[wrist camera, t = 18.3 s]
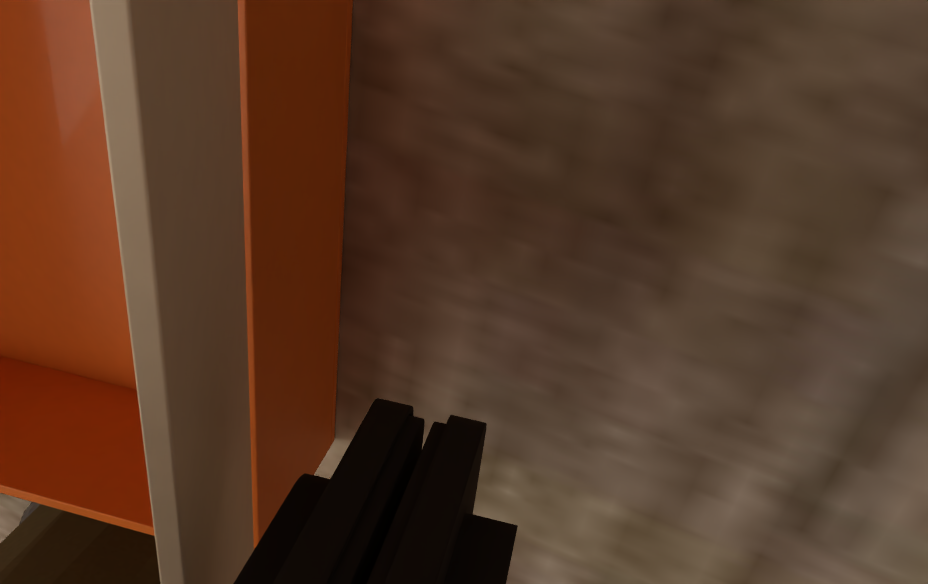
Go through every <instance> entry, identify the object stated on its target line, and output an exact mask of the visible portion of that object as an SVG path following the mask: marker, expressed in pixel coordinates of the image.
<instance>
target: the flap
mask: <svg viewBox="0 0 928 584" xmlns="http://www.w3.org/2000/svg"><path fill="white" fill-rule="evenodd" d="M89 2H90V10H91V18H92V26H93V34H94V43H95V51H96V59H97V67H98V75H99V84H100V92H101V100H102V108H103V116H104V125H105V133H106V141H107V149H108V157H109V166H110V174H111V182H112V190H113V198H114V207H115V215H116V223H117V231H118V239H119V248H120V256H121V264H122V272H123V280H124V289H125V297H126V305H127V313H128V321H129V330H130V338H131V346H132V354H133V362H134V371H135V379H136V387H137V395H138V403H139V412H140V420H141V428H142V436H143V444H144V453H145V461H146V469H147V477H148V485H149V494H150V502H151V510H152V518H153V526H154V535H155V543H156V551H157V559H158V567H159V576H160V584H233V583H234V582H235V580H236V579H237V577H238V575H239V574H240V572H241V570H242V569H243V567H244V565H245V564H246V562H247V561H248V559H249V557H250V556H251V554H252V552H253V551H254V539H253V505H252V471H251V437H250V404H249V370H248V336H247V302H246V269H245V235H244V201H243V167H242V134H241V100H240V66H239V32H238V0H89Z"/></svg>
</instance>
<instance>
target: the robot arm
mask: <svg viewBox="0 0 928 584" xmlns="http://www.w3.org/2000/svg"><path fill="white" fill-rule="evenodd" d="M486 426H487V424H486V423H484V422H480V421H476V420H471V419H467V418H462V417H458V416H454V415H450V417H449V419H448V421H447V424H444V423H440V422H436V421H435V422H434V423H433V425H432V427H431V429H430V432H429V434H428V437H427V439H426V441H425V444H424V446H423V449H422V443H423V433H424V419H423V418H418V417H414V416H413V407H412V406H410V405H406V404H401V403H397V402H393V401H388V400H384V399H379V398H377V399H375V400H374V402H373V403H372V405H371V407H370V409H369V411H368V412H367V414H366V416H365V418H364V420H363V421H362V423H361V425H360V427H359V429H358V430H357V432H356V434H355V436H354V438H353V439H352V441H351V443H350V445H349V447H348V448H347V450H346V452H345V454H344V456H343V458H342V459H341V461H340V463H339V465H338V467H337V468H336V470H335V472H334V474H333V476H332V477H331V479H327V478H323V477H318V476H314V475H310V474H306V473H304V474H303V475H302V476H300V477H299V479H298V480H297V481H296V483H295V484H294V485H293V487H292V489H291V490H290V492H289V494H288V495H287V497H286V499H285V500H284V502H283V503H282V505H281V507H280V508H279V510H278V512H277V513H276V515H275V516H274V518H273V520H272V521H271V523H270V525H269V526H268V528H267V530H266V531H265V533H264V534H263V536H262V538H261V539H260V541H259V543H258V544H257V546H256V548H255V549H254V551H253V552H252V554H251V556H250V557H249V559H248V561H247V562H246V564H245V565H244V567H243V569H242V570H241V572H240V574H239V575H238V577H237V579H236V580H235V582H234V583H233V584H506V580H507V575H508V570H509V566H510V561H511V556H512V551H513V546H514V541H515V536H516V531H517V525H513V524H509V523H505V522H501V521H497V520H493V519H489V518H485V517H481V516H477V515H473V508H474V502H475V496H476V490H477V483H478V477H479V471H480V465H481V459H482V452H483V446H484V440H485V434H486Z"/></svg>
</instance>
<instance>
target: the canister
mask: <svg viewBox="0 0 928 584" xmlns="http://www.w3.org/2000/svg"><path fill="white" fill-rule="evenodd" d="M0 584H160V576H159V567H158V559H157V551H156V543H155V536H153V535H149V534H146V533H142V532H139V531H135V530H131V529H128V528H124V527H121V526H117V525H114V524H110V523H107V522H103V521H99V520H96V519H92V518H89V517H85V516H82V515H78V514H74V513H71V512H67V511H64V510H60V509H57V508H53V507H49V506H46V505H42V504H39V503H35V502H32V503H31V504H30V505H29V507H28V508H27V509H26V510H25V511H24V514H23V516H22V519H21V521H20V524H19V526H18V527H17V528H16V529H15V530H14V531H13V532H12V533H11V534H10V535H9V536H8V537H7V538H6V539H5V540H4V541H3V542H2V543H0Z"/></svg>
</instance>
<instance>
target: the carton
mask: <svg viewBox="0 0 928 584" xmlns="http://www.w3.org/2000/svg"><path fill="white" fill-rule="evenodd" d="M352 10H353V0H238V32H239V66H240V100H241V134H242V167H243V201H244V235H245V269H246V302H247V336H248V370H249V404H250V437H251V471H252V505H253V539H254V549H255V548H256V546H257V544H258V543H259V541H260V539H261V538H262V536H263V534H264V533H265V531H266V530H267V528H268V526H269V525H270V523H271V521H272V520H273V518H274V516H275V515H276V513H277V512H278V510H279V508H280V507H281V505H282V503H283V502H284V500H285V499H286V497H287V495H288V494H289V492H290V490H291V489H292V487H293V485H294V484H295V483H296V481H297V480H298V479H299V477H300V476H302V475H303V474H304V473H306V474H310V475H314V473H315V472H316V470H317V468H318V467H319V465H320V463H321V461H322V460H323V458H324V456H325V455H326V453H327V451H328V450H329V448H330V446H331V445H332V443H333V441H334V436H335V413H336V389H337V365H338V342H339V318H340V294H341V271H342V247H343V223H344V200H345V176H346V152H347V128H348V105H349V81H350V57H351V34H352ZM0 493H3V494H7V495H10V496H14V497H17V498H21V499H25V500H28V501H32V502H35V503H39V504H42V505H46V506H49V507H53V508H57V509H60V510H64V511H67V512H71V513H74V514H78V515H82V516H85V517H89V518H92V519H96V520H99V521H103V522H107V523H110V524H114V525H117V526H121V527H124V528H128V529H131V530H135V531H139V532H142V533H146V534H149V535H153V536H155V535H154V526H153V518H152V510H151V502H150V494H149V485H148V477H147V469H146V461H145V453H144V444H143V436H142V428H141V420H140V412H139V403H138V395H137V387H136V379H135V371H134V362H133V354H132V346H131V338H130V330H129V321H128V313H127V305H126V297H125V289H124V280H123V272H122V264H121V256H120V248H119V239H118V231H117V223H116V215H115V207H114V198H113V190H112V182H111V174H110V166H109V157H108V149H107V141H106V133H105V125H104V116H103V108H102V100H101V92H100V84H99V75H98V67H97V59H96V51H95V43H94V34H93V26H92V18H91V10H90V2H89V0H0Z"/></svg>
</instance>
